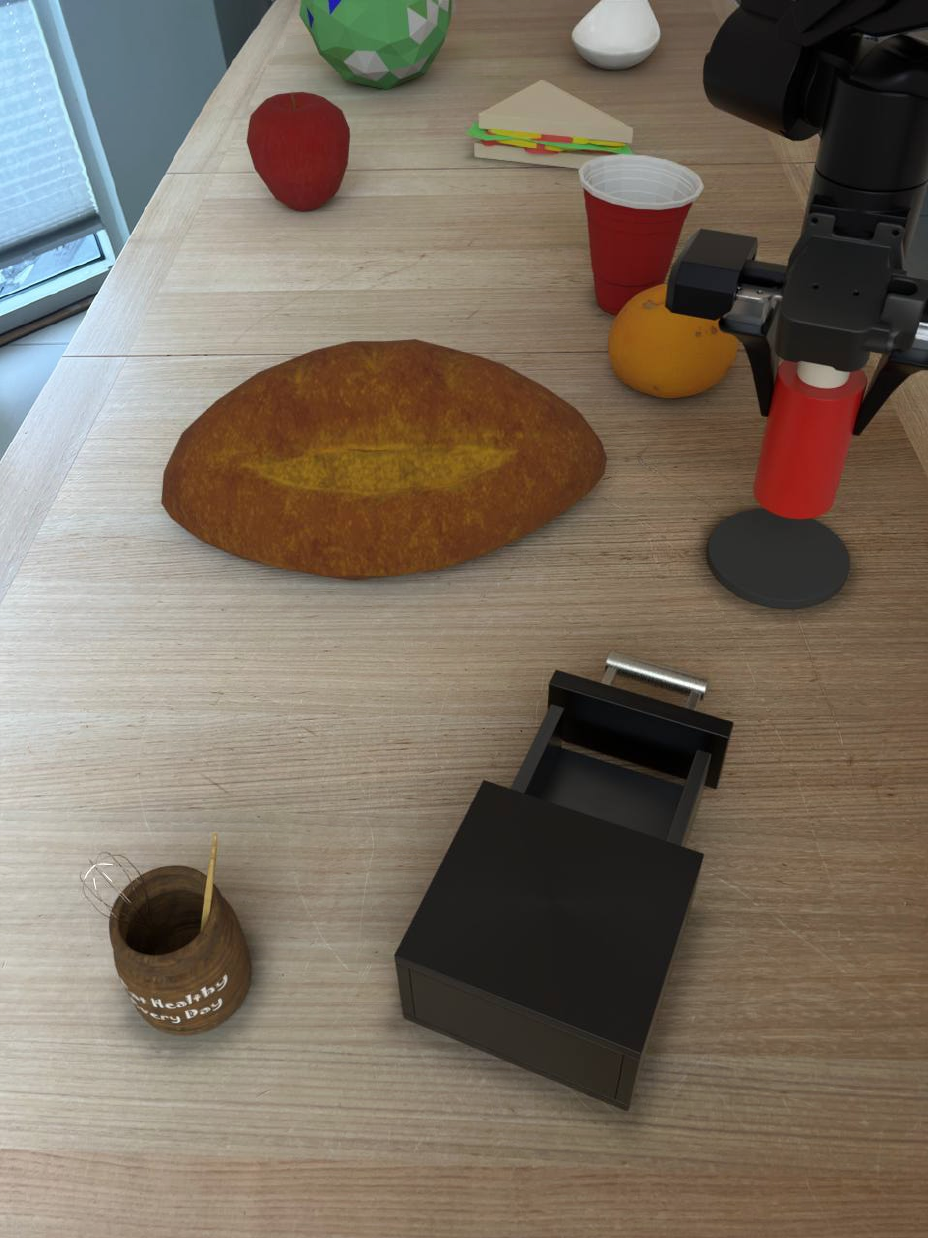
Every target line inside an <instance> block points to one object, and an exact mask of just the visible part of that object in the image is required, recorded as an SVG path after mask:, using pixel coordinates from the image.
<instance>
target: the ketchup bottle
mask: <svg viewBox="0 0 928 1238" xmlns="http://www.w3.org/2000/svg"><path fill="white" fill-rule="evenodd" d="M867 387H868V376H867V374H866V373H865V371H864V370H863V368H862V369H860V370H858V371H854V372H843V371H837V370H835V369H834V368H833V367H830V366H825V365H819V364H814V363H809V362H803V361H799V362H796V363H795V362H790V361H786V360H782V361H781V363H779V367H778V370H777V375H776V380H775V385H774V389H773V394H772V399H771V404H770V409H769V414H768V417H766V418H767V419H766V423H765V428H764V433H763V437H762V442H761V448H760V451H759V457H758V462H757V466H756V471H755V475H754V481H753V484H752V485H753V486H752V494H753V496H754V498H755V499H754V500H756V502H757V503H758V504H759V506H761V507H762V509H766V510H768V511H770V512H771V513H774V514H776V515H779V516H782V517H785V518H791V519H810V518H812V519H815V518H818V517H821V516H823V515H824V514H826V513H828V512H829V511H830V510H831V509H832V507H833V506H834V503H835V500H836V496H837V493H838V490H839V486H840V482H841V479H842V475H843V471H844V468H845V464H846V461H847V457H848V454H849V452H850V451H849V450H850V447H851V444H852V440H853V436H854V435H853V430H854V427H855V423H856V420H857V416H858V413H859V411H860V408H861V404H862V401H863V398H864V395H865V393H866V391H867Z"/></svg>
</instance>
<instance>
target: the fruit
mask: <svg viewBox="0 0 928 1238" xmlns="http://www.w3.org/2000/svg"><path fill="white" fill-rule="evenodd" d="M667 284H668V282H664V284H661V285H658V286H655V287H652V288H650V289H647V290H645V291H643V292H641V293H639V294H637V295H635V296H634V297H633V298H632V299H631V300H629V301H628V302H627V303H626V304H625V306H624V307H623V308H622V310H621V311H620V312H619V314H618V315H615V317H614V320H613V321H612V324H611V327H610V329H609V333H608V342H607V351H608V352H607V354H608V358H609V362H610V365H611V367H612V370H613V372H614V373H615V375H616V377H617V378H618V379H619V380H620V381H622V383H623V384H625V385H626V386H628V387H630V388H632V389H633V390H635V391H638V392H640V393H643V394H646V395H650V396H653V397H656V398H659V399H660V398H661V399H678V398H686V397H690V396H694V395H697V394H700V393H702V392H705V391H706V390H708V389H711V388H712V387H714V386H715V385H717V384H718V383H719V382H721V381H722V379H724V378H725V377H726V375H727V374H728V373H729V371H730V370H731V369H732V367H733V365H734V363H735V361H736V358H737V355H738V349H739V340H738V339H737V338H736V337H735V336H734V335H731V334H727V333H723V332H722V331H720V329H719V326H718V321H719V319H720V318H719V319H718V320H716V321H713V320H708V319H702V318H697V317H691V316H686V315H680V314H675V313H671V312H670V311H669V310H668V309H667V308H666V307H665V301H666V292H667Z"/></svg>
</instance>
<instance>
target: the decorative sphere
mask: <svg viewBox="0 0 928 1238" xmlns="http://www.w3.org/2000/svg"><path fill="white" fill-rule="evenodd" d="M456 11H457V4H456V0H300V6H299V11H298V12H299V13H298V16H299V17H300V19H301V21H302V22H303V24H304V26H305V27H306V29H307V31H308V33H309V34H310V36H311V37H312V40H313V42H314V45H315V48H316V49H317V52H318V54H319V56H320V57H322V58H323V60H324V61H326V62H327V63H328V65H330V66H331V67H332V68H333V69H334V71H336V72H337V73H338V74H339V75H340V76H341V77H342V78H343V79H344V80H345V81H347V82H351V83H356V84H360V85H365V86H370V87H373V88H379V89H383V90H390V89H392V88H394V87H397V86H399V85H401V84H403V83H407V82H408V81H411V80H413V79H415V78H418V77H420V76H422V75H425V74H426V73H427V72H428V70H429V68H430V67H431V65H432V64H433V62H434V61H435V59H436V58H437V56H438V54H439V53H440V50H441V49H442V47H443V44H444V42H445V39H446V37H447V34H448V30H449V27H450V23H451V20H452V17H453V15H454V14H455V12H456Z"/></svg>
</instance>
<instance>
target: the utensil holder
mask: <svg viewBox="0 0 928 1238" xmlns="http://www.w3.org/2000/svg"><path fill="white" fill-rule="evenodd" d="M218 834H219V833H216V832H214V833H213V838H212V844H211V849H210V854H209V859H208V866H207V874H205V873H204V872H202V871H201V870H199V869H196V868H193V867H192V866H191V867H190V866H187V865H178V864H177V865H176V864H175V865H165V866H160V867H156V868H153V869H150V870H148V871H146V872H143V873H142V874H141V873H140V871H139V870H138V868H136V867H135V865H134V864H133V863H132V862H131V861H130V860H129V859H128V858H127V857H126V856H124V855H122V854H111V853H110V852H108V851H102V852H99V854H98V855H97V856H96V858H95V860H94V861H93V860H92V859H90V858H88V862H89V863H90V864H89V865H86V866H84V867H83V868H82V869H81V870H80V872H79V880H80V882H81V883H82V893H83V895H84V897H85V898H86V900H87V901H88V903H90V905H91V906H92V907H93V908H94V909H95V911H97V912H98V913H99V914H101V915H102V916H104V917H106V918H108V933H109V939H110V945H111V947H112V951H113V961H114V962H113V963H114V966H115V969H116V972H117V975H118V977H119V979H120V981H121V984H122V986H123V987H124V989H125V991H126V993H127V995H128V996H129V998H130V1000H131V1002H132V1004H133V1005H134V1007H135V1009H136V1011H137V1012H138V1013H139V1015H140V1016H141V1017H142V1018H143V1019H144V1020H145V1021H146V1023H147V1024H149V1025H150V1026H152V1027H153V1028H154V1029H156V1030H158V1031H160V1032H162V1033H165V1034H167V1035H173V1036H179V1037H188V1036H195V1035H196V1036H197V1035H200V1034H203V1033H206V1032H209V1031H211V1030H213V1029H215V1028H217V1027H219V1026H220V1025H222V1024H223V1023H224V1022H226V1021H227V1020H228V1019H229V1018H231V1017H232V1015H234V1013H236V1011H237V1010H238V1009H239V1008H240V1006H241V1004H242V1003H243V1001H244V1000H245V998H246V995H247V993H248V990H249V988H250V984H251V980H252V959H251V953H250V950H249V946H248V943H247V940H246V938H245V934H244V931H243V929H242V925H241V923H240V921H239V919H238V916H237V914H236V912H235V910H234V908H233V906H232V905H231V904H230V902H228V900H227V899H226V898H225V897H224V896H223V895H222V893H221V891H220V890H219V888H218V887H217V885H216V884H215V883H214V881H215V873H216V863H217V852H218V851H217V848H218ZM102 854H107V855H106V856H104V857H102V858H101V859H99V857H100V855H102ZM115 856H118V857H121V858H124V859H125V860H126V861H127V862H128V863H129V864H130V865H131V866H132V867H133V869H135V871H136V873H137V874H138V875H139V876H137V877H136V876H134V875H133V874H132V872H130V871H129V869H126V868H124V867H123V866H122V865H121V864H120V863H119V862H118V860H117V859H116V858H115ZM109 857H111V859H113V860H114V861H115V862H116V863H117V864H114V863H106V862H105V863H103V862H102V863H100V862H101V861H103V860H104V859H107V858H109ZM98 859H99V860H98ZM101 865H106V866H107V865H108V866H114V867H117V868H119V869H121V870H122V871H123V872H124V873H125V875H126V877H127V879H128V880H129V883H128V884H127V885H126V886H125V887H124V889H123V890H121V889H120V887H118V886H117V885H116V883H115V882H114V881H113V880H112V879H111V878H110V877H109V876H108V875H107V874H106V873H105V871H103V870H102V869H101V868H100V867H99V866H101ZM89 867H90V869H89V870H88V871H87V873H86V874H85V877H84V878H83V879H82V872H83V871H84V870H85V869H87V868H89ZM92 869H93V884H94V889H95V891H96V895H97V896H96V895H95V893H93V892H92V891H91V890H90V888H89V887H88V886H87V884H86V883H85V881H86V879H87V876H88V874H89V873H90V871H91V870H92ZM96 871H97V872H98V873H99V874H100V875H101V876H102V878H103V879H104V880H105V882H106V883H108V885H109V886H110V887H111V888H112V889H113V890H114V892H116V893H117V894H118V896H117V897H116V899H115V901H114V903H113V906H111V905H109V904H108V903H106V902H104V900H103V899H102V898H101V896H100V894H99V891H98V889H97V885H96V878H95V877H96V876H95V875H96V873H95V872H96ZM128 873H129V875H131V877H133V880H131V878H130V876H129V875H128ZM107 879H108V880H107ZM109 881H110V882H109ZM111 883H112V884H113V885H112V884H111ZM114 886H115V887H116V888H115V887H114ZM85 888H86V889H87V890H88V891H89V892H90V893H91V895H93V897H94V898H95V899H97V900H98V901H99V902H100V903H102V904H103V905H104V907H106V909H107V910H108V911H109V912H110V914H109V916H108V915H106V914H104V913H103V912H101V911H100V910H99V909H98V908H97V907H96V906H95V905H94V904H93V903H92V901H91V899H89V897H88V896H87V895H86V893H85Z"/></svg>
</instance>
